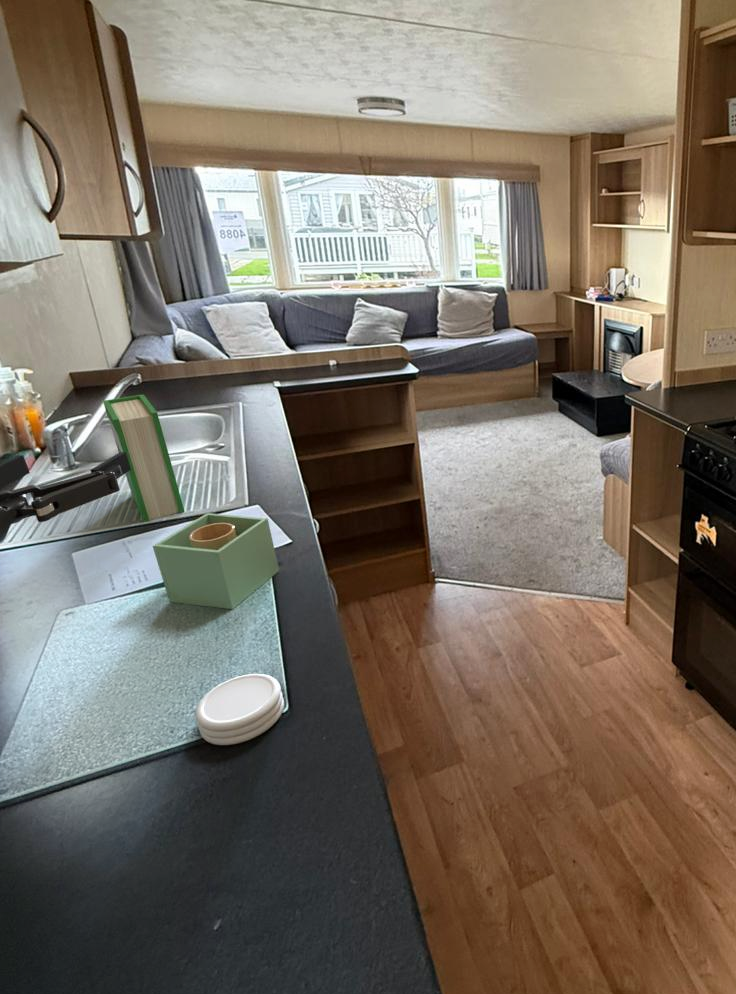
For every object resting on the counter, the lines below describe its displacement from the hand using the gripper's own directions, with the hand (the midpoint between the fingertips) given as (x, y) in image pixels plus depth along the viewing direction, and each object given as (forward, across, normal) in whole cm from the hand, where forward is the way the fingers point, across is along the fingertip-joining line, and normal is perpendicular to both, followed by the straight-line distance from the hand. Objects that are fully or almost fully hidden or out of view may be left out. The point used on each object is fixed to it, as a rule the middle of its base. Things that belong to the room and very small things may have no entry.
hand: (75, 462), depth 91 cm
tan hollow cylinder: (+14, +8, -29) cm, 33 cm away
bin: (+14, +8, -30) cm, 34 cm away
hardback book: (+48, -22, -30) cm, 61 cm away
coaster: (-19, +25, -30) cm, 43 cm away
